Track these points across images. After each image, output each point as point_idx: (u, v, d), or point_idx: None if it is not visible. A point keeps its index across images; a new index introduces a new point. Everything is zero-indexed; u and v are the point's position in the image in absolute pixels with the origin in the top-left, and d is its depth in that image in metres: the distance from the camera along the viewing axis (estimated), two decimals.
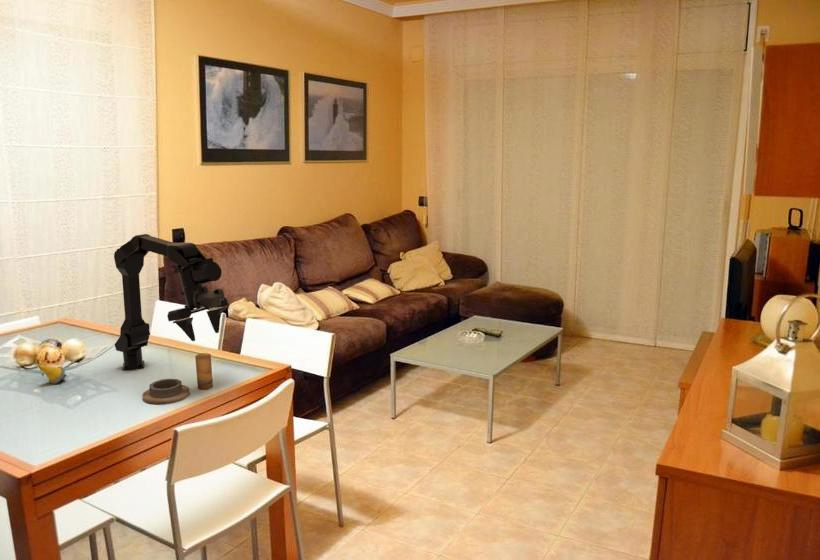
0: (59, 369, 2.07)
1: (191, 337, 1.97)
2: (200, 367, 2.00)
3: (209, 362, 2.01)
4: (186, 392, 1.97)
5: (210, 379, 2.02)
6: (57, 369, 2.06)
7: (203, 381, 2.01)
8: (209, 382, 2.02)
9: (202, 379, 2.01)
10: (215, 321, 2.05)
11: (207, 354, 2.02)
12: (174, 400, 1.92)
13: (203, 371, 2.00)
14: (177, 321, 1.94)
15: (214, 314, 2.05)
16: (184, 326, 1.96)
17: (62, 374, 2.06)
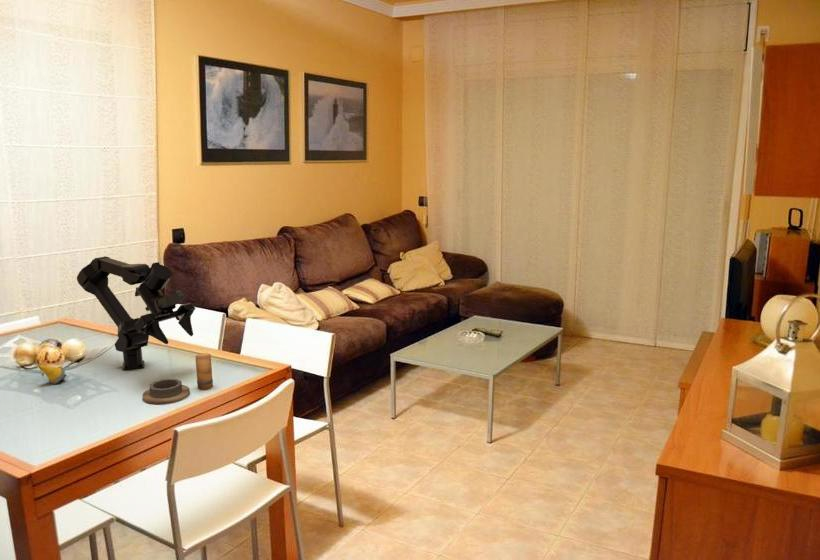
0: (59, 369, 2.07)
1: (164, 340, 2.02)
2: (200, 367, 2.00)
3: (209, 362, 2.01)
4: (186, 392, 1.97)
5: (210, 379, 2.02)
6: (57, 369, 2.06)
7: (203, 381, 2.01)
8: (209, 382, 2.02)
9: (202, 379, 2.01)
10: (187, 325, 2.10)
11: (207, 354, 2.02)
12: (174, 400, 1.92)
13: (203, 371, 2.00)
14: (145, 329, 2.01)
15: (184, 320, 2.11)
16: (154, 333, 2.02)
17: (62, 374, 2.06)
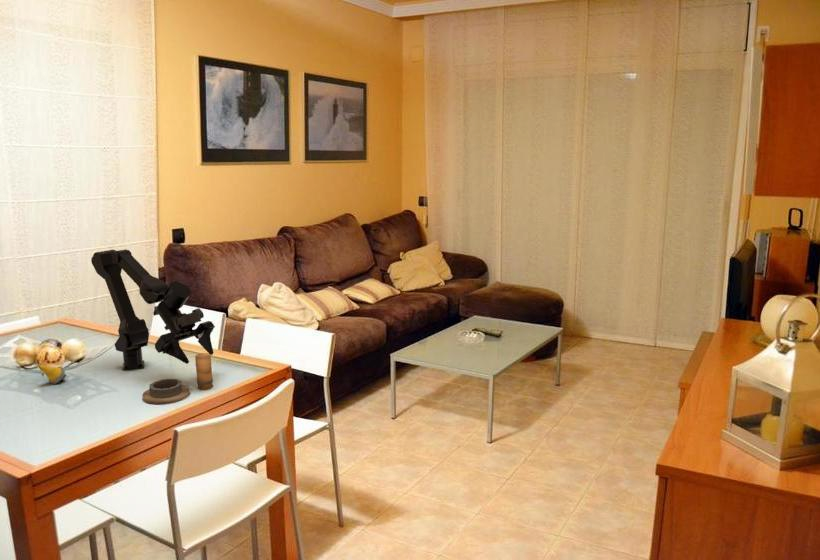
0: (59, 369, 2.07)
1: (184, 359, 1.98)
2: (199, 367, 2.00)
3: (209, 362, 2.01)
4: (186, 392, 1.97)
5: (210, 379, 2.02)
6: (57, 369, 2.06)
7: (203, 381, 2.01)
8: (209, 382, 2.02)
9: (202, 379, 2.01)
10: (207, 344, 2.07)
11: (206, 354, 2.02)
12: (174, 400, 1.92)
13: (203, 371, 2.00)
14: (165, 348, 1.98)
15: (204, 338, 2.07)
16: (174, 352, 1.99)
17: (62, 374, 2.06)
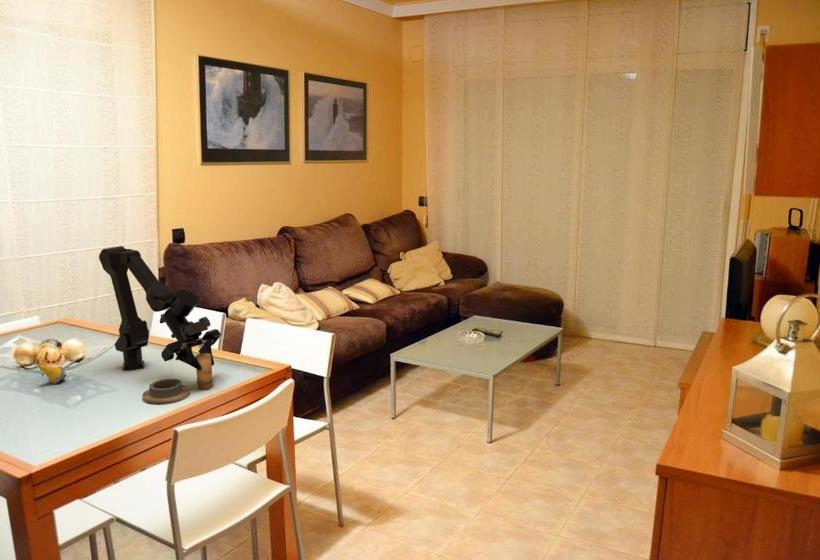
0: (59, 369, 2.07)
1: (197, 366, 1.99)
2: None
3: (209, 362, 2.01)
4: (186, 392, 1.97)
5: (210, 379, 2.02)
6: (57, 369, 2.06)
7: (203, 381, 2.01)
8: (209, 382, 2.02)
9: (202, 379, 2.01)
10: None
11: (207, 354, 2.02)
12: (174, 400, 1.92)
13: (203, 371, 2.00)
14: (178, 355, 1.98)
15: (204, 348, 2.05)
16: (187, 359, 2.00)
17: (62, 374, 2.06)
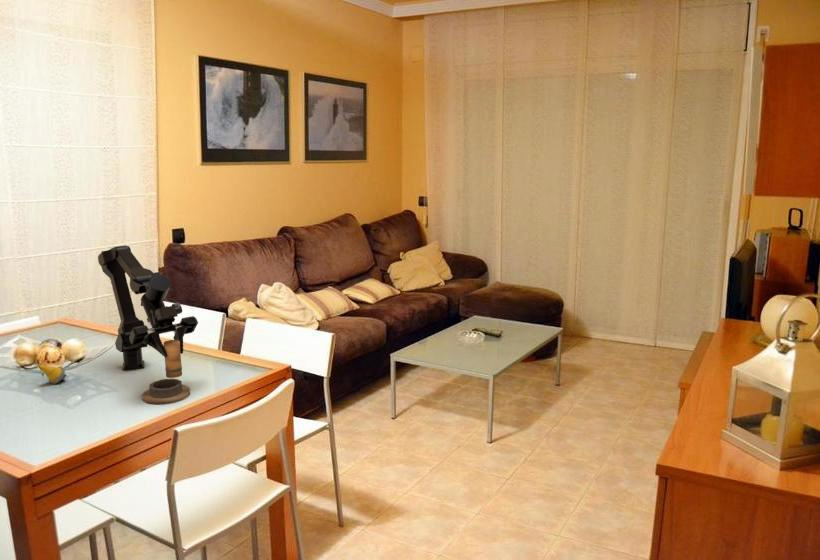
0: (59, 369, 2.07)
1: (163, 353, 1.93)
2: None
3: (176, 350, 1.94)
4: (186, 392, 1.97)
5: (177, 367, 1.95)
6: (57, 369, 2.06)
7: (169, 369, 1.95)
8: (176, 370, 1.95)
9: (168, 367, 1.94)
10: None
11: (176, 341, 1.96)
12: (174, 400, 1.92)
13: (170, 358, 1.94)
14: (146, 340, 1.94)
15: (177, 335, 1.98)
16: (155, 344, 1.95)
17: (62, 374, 2.06)
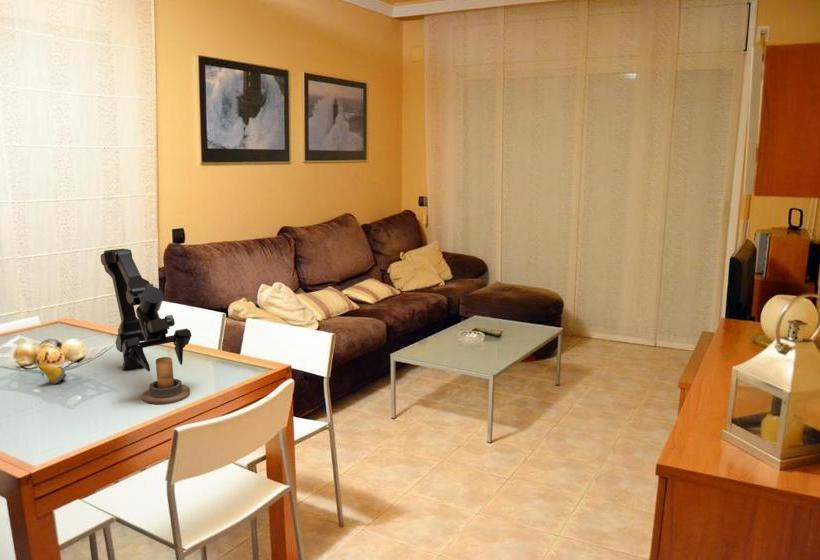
0: (59, 369, 2.07)
1: (146, 367, 1.92)
2: (158, 372, 1.94)
3: (168, 367, 1.94)
4: (186, 392, 1.97)
5: (169, 385, 1.95)
6: (57, 369, 2.06)
7: (161, 386, 1.94)
8: None
9: (160, 384, 1.94)
10: (178, 352, 1.98)
11: (168, 358, 1.95)
12: (174, 400, 1.92)
13: (161, 375, 1.94)
14: (130, 353, 1.92)
15: (177, 346, 1.99)
16: (139, 358, 1.93)
17: (62, 374, 2.06)
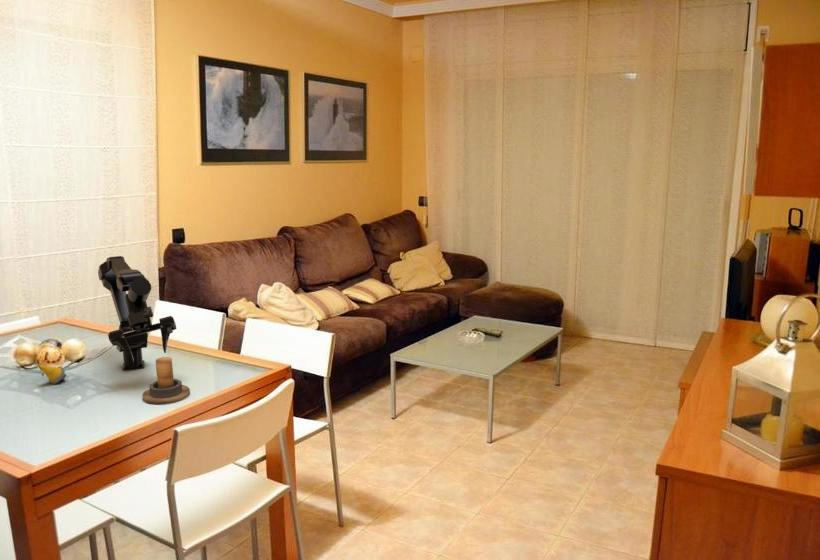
0: (59, 369, 2.07)
1: (130, 358, 2.00)
2: (158, 372, 1.94)
3: (168, 367, 1.94)
4: (186, 392, 1.97)
5: (169, 385, 1.95)
6: (57, 369, 2.06)
7: (161, 386, 1.94)
8: None
9: (160, 384, 1.94)
10: None
11: (168, 358, 1.95)
12: (174, 400, 1.92)
13: (161, 375, 1.94)
14: None
15: (161, 334, 2.04)
16: None
17: (62, 374, 2.06)
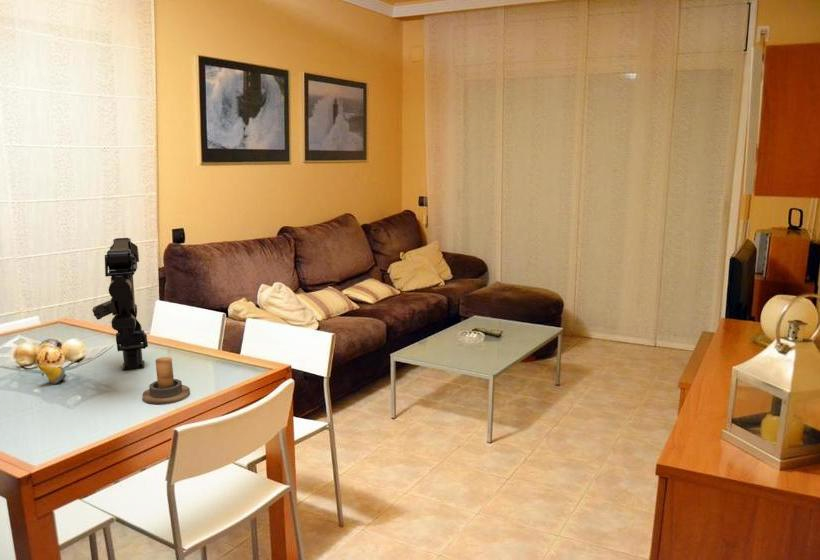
0: (59, 369, 2.07)
1: None
2: (158, 372, 1.94)
3: (168, 367, 1.94)
4: (186, 392, 1.97)
5: (169, 385, 1.95)
6: (57, 369, 2.06)
7: (161, 386, 1.94)
8: None
9: (160, 384, 1.94)
10: None
11: (168, 358, 1.95)
12: (174, 400, 1.92)
13: (161, 375, 1.94)
14: None
15: None
16: None
17: (62, 374, 2.06)
